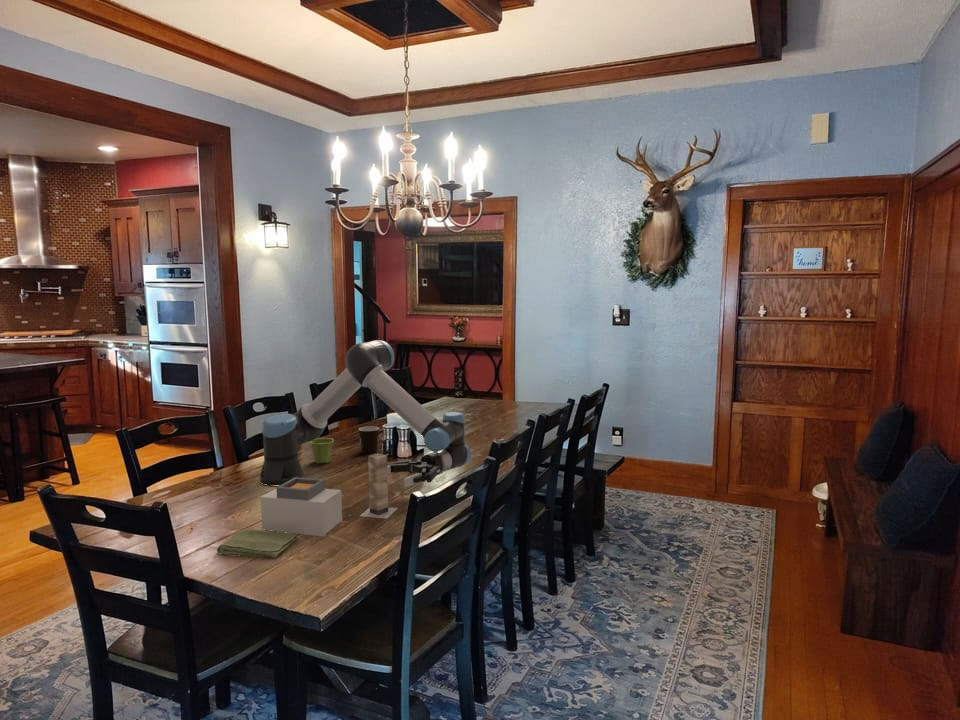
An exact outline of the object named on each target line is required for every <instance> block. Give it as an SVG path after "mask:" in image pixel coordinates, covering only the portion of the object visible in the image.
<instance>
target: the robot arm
mask: <svg viewBox="0 0 960 720" xmlns="http://www.w3.org/2000/svg"><path fill="white" fill-rule="evenodd" d="M344 360H345V366H346V368H344V370H343V371H342V372H341V373H340V374H339V375H337V376H336V378H335V379H334V380H333V381H332V382H330V384H329V385H328V386H327V387H326V388H325V389H324V390H323V391H322V392H320V393H319V395H317V396H316V397H315V398H314V400H313V401H312V402H311V403H305V404H303V405H302V406H301V407H300V408H299V409H298V410H297V411H296V412H295V413H293V414H291V413H280V414H275V415H272V416H269V417H266V419H264V421H263V422H262V432H261V433H262V441H263V442H262V443H263V444H262V445H263V459H264V460H263V464H262V468H261V472H260V474H259V482H261V483H263V484H267V485H282V484H284V483H286V482H287V481H289V480H291V479H293V478H294V477H298V478H304V471H303V468H302V465H301V463H300V460H299V455H298V453H299V452H298V447H300V446H302V445H304V444H307V443H310V441H312V440H315V439H319V437H320V436H321V435H322V434H323V432H324V431H325V428H326V427H327V425H328V419H329V418H330V417H331V416H333V414H334V413H335V412H336V411H338V409H340V407H342V406H343V405H344V404H345V403H346V401H348V400H349V399H350V398H351V397H352V396H353V395H354V394H355V393H356V392H357V391H358V390H359V389H360V388H361V387H363V388H368V389H370V390H371V391H372V393H374V394H375V395H376V397H378V398H379V399H381V400H382V401H383V402H384V404H386V405H387V406H388V407H389V408H390V409H392V411H394V413H396V414H397V416H399V417H400V418H402V419H403V420H404V422H406V423H407V424H408V425H409V426H410V427H411V428H412V429H413V430H415V431H416V432H417V433H419V434H420V435H421V436H422V438H423V444H425V445H426V446H425V447H426V448H427V449H428V450H429V451H431V452H430V453H426V454H424V455H423V456H422V457H421V458H420V460H416V461H414V460H413V459H412V458H411V459H408V460H400V461H393V462H387V476H390V475H391V474H392V473H403V472H404V473H405V472H406V473H407V472H408V473H409V474H412V475H409V476H406V477H404V478H403V487H404V488H408V487H410V486H413V485H415V484H419V483H425V482H427V483H428V484H429V483H431V482H432V481H433V480H434V479H435V478H436V477H437V476H438V475H439V476H440V475H441V474H443V473H445V472H448V471H450V470H453V469H455V468H456V469H457V468H460V467H462V466H465V465H466V464H468V463H469V462H470V461H471V458H472V451H471V450H470V449H471V448H470V447H469V446H468V445H467V444H466V443H465V434H466V432H465V431H466V430H465V428H466V427H465V425H466V423H465V414H463V413H462V412H460V411H459V412H458V411H450V412H444V413H443V417H442V422H440V421H439V420H438V419H437V418H436V417H435V416H434V415H433V414H432V413H431V412H430V411H428V409H426V408H425V407H424V406H423V405H422V404H421V403H419V401H417V399H415V398H414V397H413V396H412V395H411V394H409V393H408V392H407V391H406V390H405V389H404V388H403V387H402V386H400V384H399V383H397V382H396V381H395V380H394V379H393V378H392V377H391V376H389V375H388V373H386V372H387V371H388V370H390V368H392V367H393V365H394V362H395V352H394V350H393V348H392V346H391V345H390V344H389V343H388V342H386V341H384V340H381V339H380V340H379V339H375V340H374V339H373V340H371V341H367V342H366V341H364V342H359V343H356V344H354V345H352V346H351V347H350V348H349V349H348V350H347V352H346V354H345V359H344ZM413 473H415V474H413ZM261 483H260V484H261ZM263 484H262V485H263Z"/></svg>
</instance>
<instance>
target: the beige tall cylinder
mask: <svg viewBox="0 0 960 720" xmlns="http://www.w3.org/2000/svg"><path fill="white" fill-rule="evenodd" d="M367 458H368V459H367V460H368V462H367V463H368V491H369V493H368V499H369V508H370V513H373V514H376V515H381V514H383V513H386V512H388V507H389V496H388V495H389V490H388V489H389V488H388V487H389V486H388V475H387V463H388V455H387V454H383V453H377V452H376V453H372V454H369V455H368V456H367Z"/></svg>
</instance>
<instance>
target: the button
mask: <svg viewBox="0 0 960 720" xmlns="http://www.w3.org/2000/svg"><path fill="white" fill-rule="evenodd" d="M312 485H314V484H304V483H297V484H295V485H293V486H291V487H290V488H301V489H307V488H309V487H310V486H312Z"/></svg>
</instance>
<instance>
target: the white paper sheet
mask: <svg viewBox="0 0 960 720" xmlns="http://www.w3.org/2000/svg"><path fill="white" fill-rule="evenodd" d="M398 509H399V508H398V507H389V506H388V512H386V513H383V514H381V515H376V514H373V513H370V507H368V508H367V509H366V510H365V511H364V512H363V513H361V514H360V515H359V517H367V518H377V519H387V520H388V519H389V518H390V516H392V515H393V514H394V513H395V512H396V511H397V510H398Z"/></svg>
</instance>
